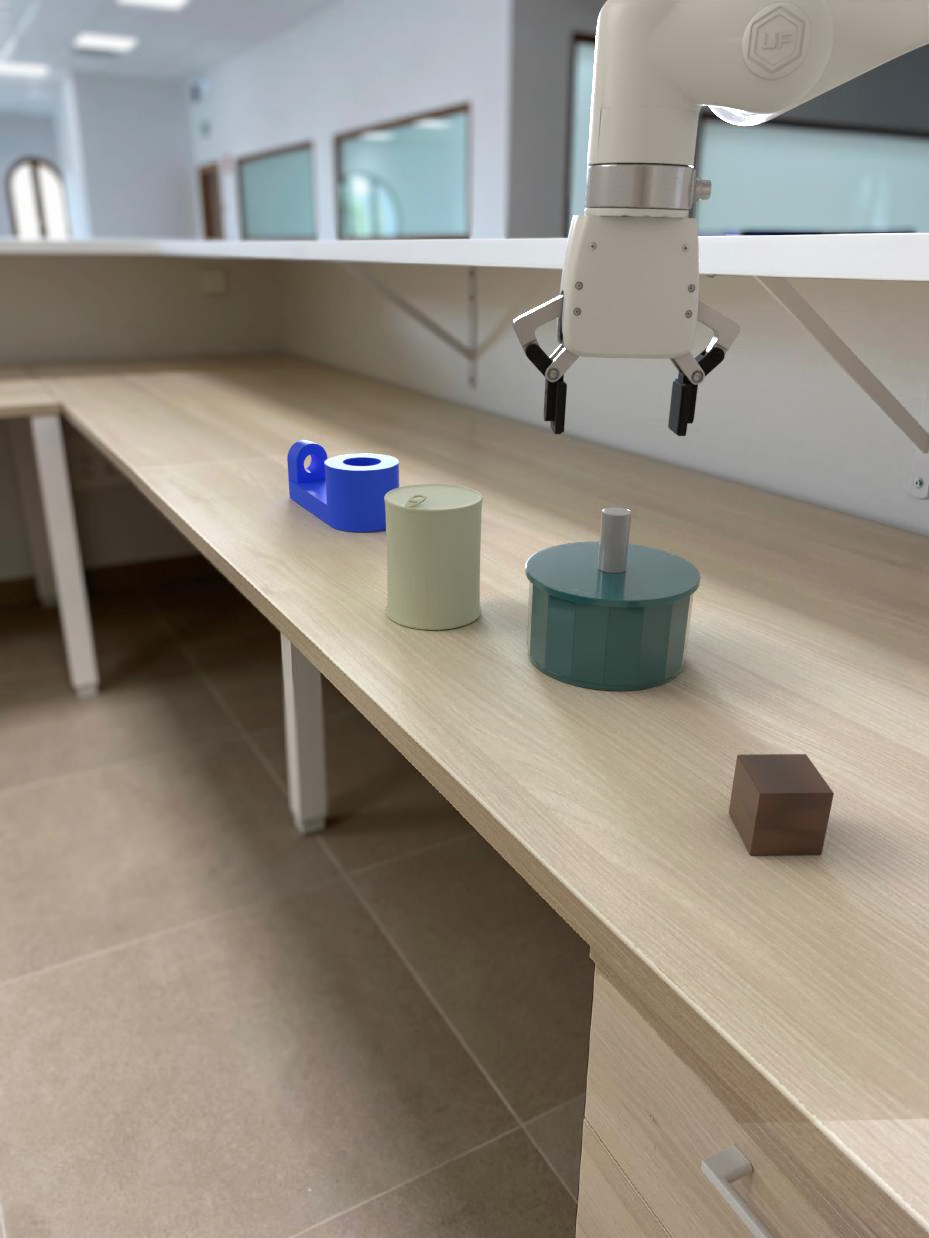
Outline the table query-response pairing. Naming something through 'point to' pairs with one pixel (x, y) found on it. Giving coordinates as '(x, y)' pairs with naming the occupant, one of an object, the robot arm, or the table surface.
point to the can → (433, 555)
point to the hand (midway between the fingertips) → (616, 431)
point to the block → (780, 804)
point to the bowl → (607, 642)
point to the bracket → (342, 486)
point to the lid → (613, 569)
